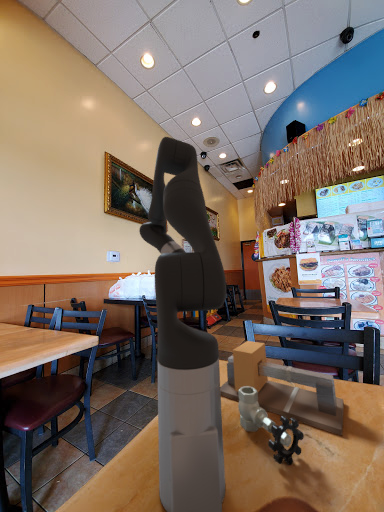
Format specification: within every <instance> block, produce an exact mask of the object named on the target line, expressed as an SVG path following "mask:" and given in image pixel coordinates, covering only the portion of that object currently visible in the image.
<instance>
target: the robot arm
mask: <svg viewBox="0 0 384 512" xmlns="http://www.w3.org/2000/svg"><path fill="white" fill-rule="evenodd" d="M198 165H199V164H198V153H197V149H196V148H195V146H194V145H192V144H191V143H188V142H185V141H182V140H179V139H175V138H172V137H169V136H164V137H162V138H161V140H160V141H159V145H158V149H157V152H156V158H155V165H154V172H153V173H154V174H153V183H152V194H151V195H152V196H151V200H150V204H149V209H148V213H147V219H148V221H149V222H144V223H142V224H141V225H140V226H139V235H140V237H141V238H142V239H143V241H145V242H146V243H147V244H149V245H150V246H152V247H154V248H155V249H156V250H157V251H158V253H160V255H158V257H157V259H156V262H155V265H154V266H155V267H154V291H155V302H156V303H155V304H156V318H157V319H156V320H157V322H156V323H157V417H158V420H157V421H158V422H157V423H158V425H157V426H158V431H157V432H158V467H159V468H158V473H159V474H158V476H159V477H158V479H159V480H158V484H159V493H158V494H159V499H160V502H161V505H162V507H163V508H164V509H165V511H166V512H223V502H224V500H225V495H226V476H225V475H226V473H225V472H226V471H225V455H224V439H223V438H224V437H223V436H224V435H223V434H224V433H223V416H222V415H223V414H222V395H221V392H220V387H221V373H220V372H221V371H220V355H219V354H220V352H219V343H218V339H217V338H216V337H215V335H213V334H211V333H209V332H207V331H204V330H200V329H197V328H194V327H192V326H189V325H187V324H186V323H184V322H182V321H181V320H180V319H179V318H178V314H179V313H181V312H183V313H185V312H186V313H187V312H200V311H201V312H202V311H203V312H204V311H213V310H218V309H220V308H222V306H223V305H224V304H225V301H226V298H227V281H226V273H225V270H224V265H223V263H222V262H223V261H222V259H221V255H220V252H219V250H218V247H217V244H216V241H215V238H214V236H213V232H212V229H211V226H210V222H209V217H208V216H209V215H208V212H207V207H206V200H205V195H204V191H203V188H202V184H201V181H200V174H199V168H198V167H199V166H198ZM165 174H169V175H172V176H173V177H172V178H170V180H169V181H168V182H167V183H165ZM167 223H168V224H169V226H171V227H172V228H173V229H174V230H175V231H176V233H178V234H179V235H180V237H182V238H183V239H184V240H185V241H186V242H187V243H188V245H190V247H191V249H192V250H193V251H192V252H191V251H190V252H186V250H185V249H184V248H183V247H182V246H181V245H180V243H179V244H178V243H177V241H176V240H174V238H172V236H171V235H170V234H168V233H167V232H168V231H167V230H168V228H167Z"/></svg>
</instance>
